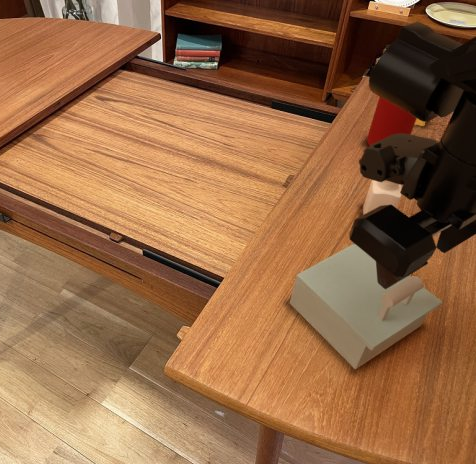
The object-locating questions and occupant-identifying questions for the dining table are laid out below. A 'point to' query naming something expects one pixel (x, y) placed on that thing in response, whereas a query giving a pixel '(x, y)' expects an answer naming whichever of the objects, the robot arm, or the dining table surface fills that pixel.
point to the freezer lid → (367, 296)
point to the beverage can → (389, 122)
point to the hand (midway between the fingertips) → (412, 267)
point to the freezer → (339, 328)
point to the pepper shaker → (382, 195)
